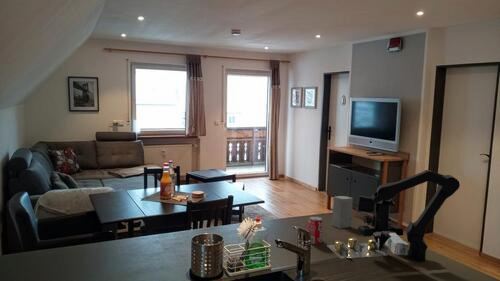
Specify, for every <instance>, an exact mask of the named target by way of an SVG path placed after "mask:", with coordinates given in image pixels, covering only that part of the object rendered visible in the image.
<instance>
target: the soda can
mask: <svg viewBox="0 0 500 281" xmlns="http://www.w3.org/2000/svg"><path fill="white" fill-rule="evenodd" d="M306 227H307V228H306V229H307V230H306V232H307V231H309V232H310V233H311V243H310V244H313V245H320V244H322V243H323V235H324V234H323V233H324V232H323V231H324V221H323V217H321V216H317V215H316V216H315V215H312V216H309V217H308V220H307V226H306Z"/></svg>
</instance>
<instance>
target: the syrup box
mask: <svg viewBox="0 0 500 281" xmlns="http://www.w3.org/2000/svg"><path fill="white" fill-rule="evenodd" d="M389 235H390V236H391V238H389V239H388V240H387V241H386V242H385V244H384V245H386V246H388V250H390V251H391V252H392V253H393V254H394V255H396V256H409V243H407V241H405V240H404V239H403V237H402V236H401V235H396V232H390V233H389Z"/></svg>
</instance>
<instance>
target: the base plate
mask: <svg viewBox="0 0 500 281" xmlns="http://www.w3.org/2000/svg"><path fill="white" fill-rule="evenodd" d="M360 244H361V245H362V252H358V251H357V250H356V249H355V248H350V247H348V243H346V244H345V243H344V246H345V247H346V248H347V249H348V250H349V251H348V256H345V255H343V254H342V253H341V252H337V251H335V250H334V247H335V244H330V245H329V244H326V247H327V248H329V250H331V251H332V252H333V253H334V254H335V255H336V256H337V257H338V258H339V259H353V258H357V259H358V258H371V257H388V255H389V254H388V253H384V252H381V251H379V250H370V249H368V242H367V243H364V242H363V243H360Z"/></svg>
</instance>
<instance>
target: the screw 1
mask: <svg viewBox="0 0 500 281" xmlns="http://www.w3.org/2000/svg"><path fill="white" fill-rule="evenodd" d="M344 244H345V241H342V240H335V241H334V245H335V247H334V250H335V251H337V252H341V253H342V254H343V255H345V256H348V251H349V250H348V249H347V248H346V247H345V246H344Z"/></svg>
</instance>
